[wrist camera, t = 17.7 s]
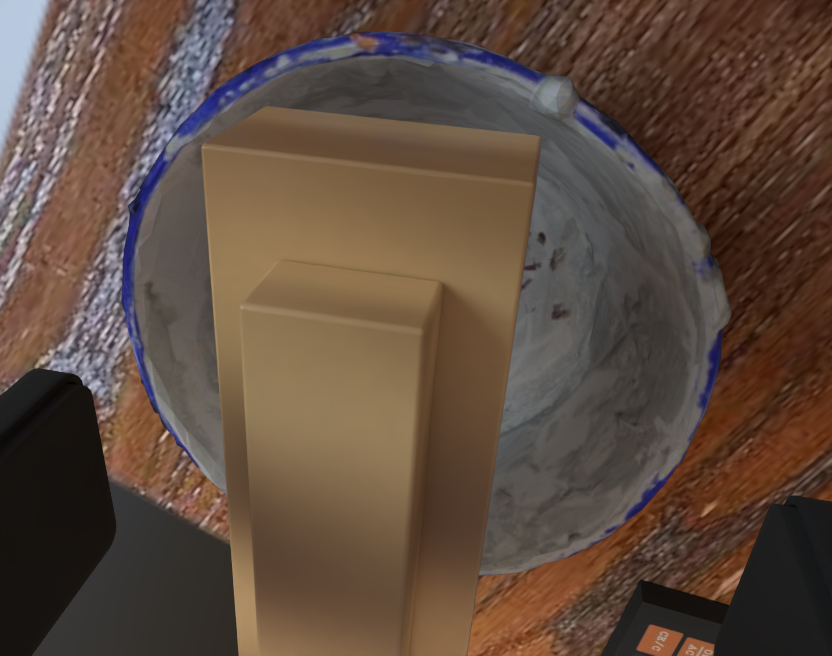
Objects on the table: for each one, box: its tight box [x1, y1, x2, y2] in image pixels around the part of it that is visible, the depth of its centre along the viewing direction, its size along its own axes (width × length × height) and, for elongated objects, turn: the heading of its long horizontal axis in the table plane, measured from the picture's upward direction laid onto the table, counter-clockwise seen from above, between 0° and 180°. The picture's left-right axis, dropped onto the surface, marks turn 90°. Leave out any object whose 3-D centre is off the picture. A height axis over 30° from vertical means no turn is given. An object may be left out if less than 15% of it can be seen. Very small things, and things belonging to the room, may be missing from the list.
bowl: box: [121, 31, 732, 575], centre depth 18 cm, size 13×13×5 cm
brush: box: [201, 106, 542, 656], centre depth 13 cm, size 11×4×6 cm, turn 177°
